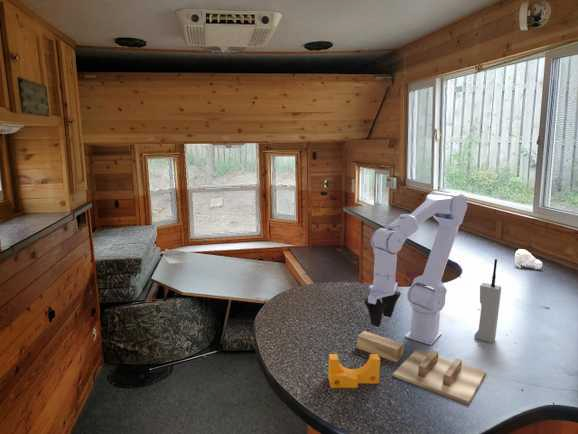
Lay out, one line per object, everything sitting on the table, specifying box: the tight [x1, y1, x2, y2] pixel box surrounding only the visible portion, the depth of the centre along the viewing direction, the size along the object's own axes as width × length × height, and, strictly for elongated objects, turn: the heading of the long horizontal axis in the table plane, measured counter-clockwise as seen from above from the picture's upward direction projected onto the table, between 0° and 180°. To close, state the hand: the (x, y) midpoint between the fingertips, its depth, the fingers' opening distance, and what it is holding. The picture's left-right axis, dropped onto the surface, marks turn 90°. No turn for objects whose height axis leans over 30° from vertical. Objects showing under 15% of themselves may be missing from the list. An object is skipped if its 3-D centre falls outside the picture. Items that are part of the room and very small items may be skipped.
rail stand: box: [392, 348, 487, 406], centre depth 105 cm, size 16×18×3 cm
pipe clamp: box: [327, 353, 381, 389], centre depth 100 cm, size 12×4×6 cm, turn 93°
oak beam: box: [356, 330, 405, 363], centre depth 116 cm, size 4×12×4 cm, turn 52°
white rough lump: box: [514, 248, 543, 270], centre depth 198 cm, size 6×8×12 cm
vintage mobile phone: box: [474, 258, 502, 344], centre depth 123 cm, size 4×5×25 cm
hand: (381, 320), depth 114 cm, fingers open, 7 cm apart
